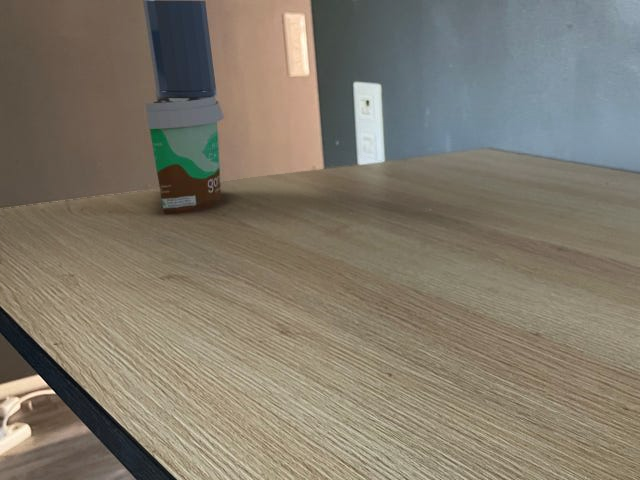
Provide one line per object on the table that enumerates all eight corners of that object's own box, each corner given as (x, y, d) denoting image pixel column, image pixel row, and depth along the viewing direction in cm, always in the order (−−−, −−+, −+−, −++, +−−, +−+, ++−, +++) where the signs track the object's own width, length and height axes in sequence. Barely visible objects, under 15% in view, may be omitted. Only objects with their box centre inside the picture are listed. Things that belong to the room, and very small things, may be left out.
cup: (146, 97, 71) (131, 0, 68) (174, 91, 76) (161, 0, 73) (202, 99, 71) (189, 0, 68) (226, 93, 76) (215, 0, 72)
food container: (234, 216, 73) (220, 102, 69) (163, 220, 71) (144, 104, 67) (233, 188, 84) (221, 88, 80) (171, 191, 82) (156, 89, 78)
